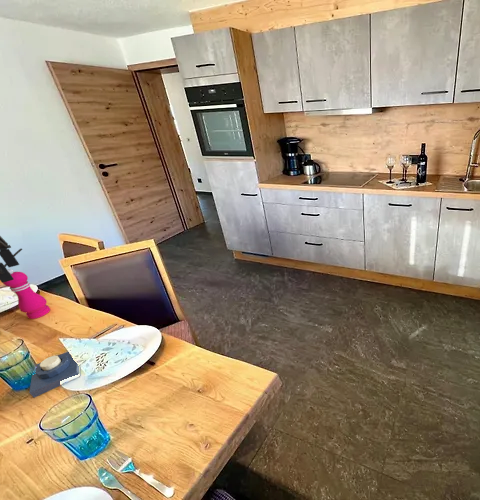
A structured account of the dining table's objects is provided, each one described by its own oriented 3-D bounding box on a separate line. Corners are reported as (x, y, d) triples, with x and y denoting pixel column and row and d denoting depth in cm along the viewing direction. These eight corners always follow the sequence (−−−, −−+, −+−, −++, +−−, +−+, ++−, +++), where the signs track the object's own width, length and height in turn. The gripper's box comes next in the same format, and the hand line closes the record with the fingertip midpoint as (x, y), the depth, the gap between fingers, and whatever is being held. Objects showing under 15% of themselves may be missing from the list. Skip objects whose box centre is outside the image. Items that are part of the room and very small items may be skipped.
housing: (37, 370, 87) (30, 361, 85) (80, 352, 92) (74, 343, 91) (33, 397, 79) (25, 388, 77) (80, 376, 84) (73, 367, 82)
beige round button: (43, 364, 84) (40, 360, 83) (61, 357, 86) (58, 353, 86) (42, 373, 81) (39, 369, 81) (61, 365, 84) (57, 361, 83)
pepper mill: (21, 318, 109) (-13, 274, 99) (43, 306, 115) (13, 263, 105) (35, 321, 107) (2, 276, 98) (56, 308, 113) (27, 265, 104)
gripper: (-37, 210, 99) (2, 263, 109) (-61, 232, 82) (-12, 292, 92) (-5, 205, 103) (29, 256, 113) (-22, 224, 86) (21, 283, 96)
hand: (11, 273), depth 102 cm, fingers open, 13 cm apart
